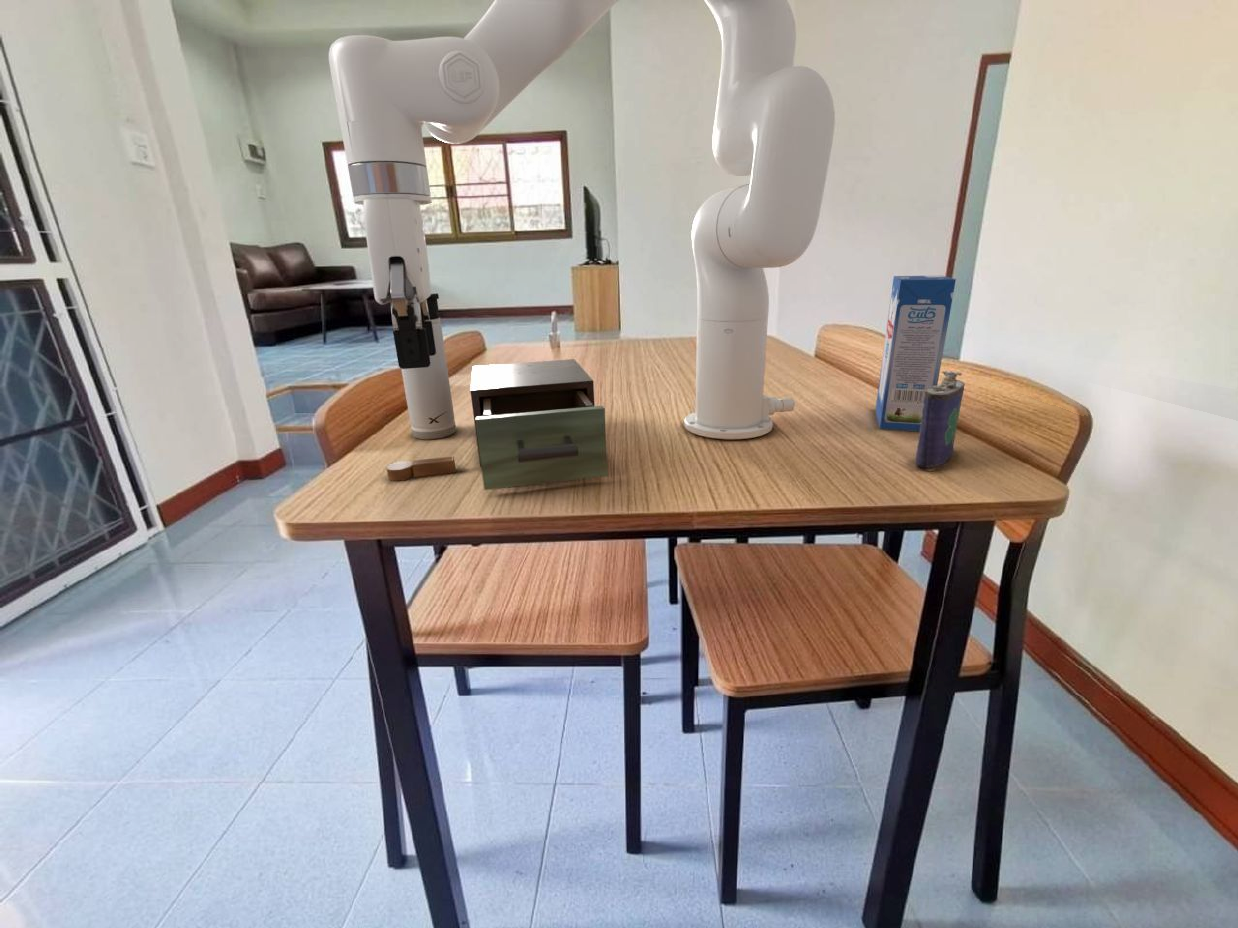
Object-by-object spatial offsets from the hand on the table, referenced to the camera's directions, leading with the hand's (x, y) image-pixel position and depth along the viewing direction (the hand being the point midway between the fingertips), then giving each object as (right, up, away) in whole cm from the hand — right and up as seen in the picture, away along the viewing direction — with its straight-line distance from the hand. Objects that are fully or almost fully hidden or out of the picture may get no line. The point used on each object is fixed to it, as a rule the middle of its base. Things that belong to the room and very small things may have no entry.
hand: (418, 360), depth 63 cm
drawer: (+14, -12, +3) cm, 19 cm away
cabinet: (+11, -9, +15) cm, 20 cm away
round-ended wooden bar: (-1, -13, +5) cm, 14 cm away
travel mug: (-5, -7, +20) cm, 22 cm away
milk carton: (+64, -6, +19) cm, 67 cm away
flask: (+61, -11, +4) cm, 62 cm away
